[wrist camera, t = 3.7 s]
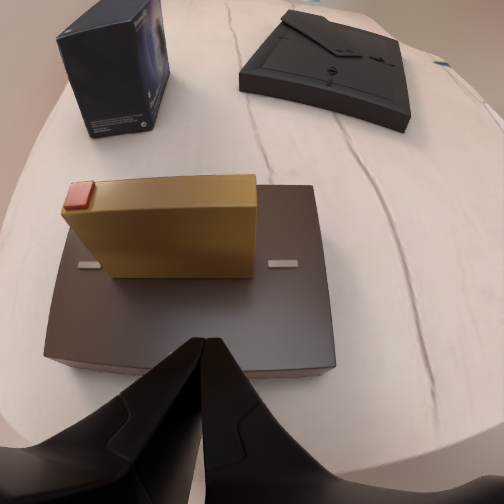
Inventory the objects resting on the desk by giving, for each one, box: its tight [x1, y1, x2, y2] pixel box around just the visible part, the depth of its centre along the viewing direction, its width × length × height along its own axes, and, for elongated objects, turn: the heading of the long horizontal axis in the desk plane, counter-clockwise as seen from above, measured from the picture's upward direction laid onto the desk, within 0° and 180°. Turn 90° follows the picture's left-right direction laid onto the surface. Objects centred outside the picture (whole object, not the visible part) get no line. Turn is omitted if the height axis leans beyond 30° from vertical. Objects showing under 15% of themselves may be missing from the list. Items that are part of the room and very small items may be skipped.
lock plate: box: [44, 185, 336, 379], centre depth 16 cm, size 14×11×3 cm
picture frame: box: [239, 10, 411, 133], centre depth 30 cm, size 16×3×21 cm
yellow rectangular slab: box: [61, 174, 257, 278], centre depth 12 cm, size 7×1×6 cm, turn 91°
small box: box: [56, 0, 170, 138], centre depth 22 cm, size 11×6×10 cm, turn 3°
